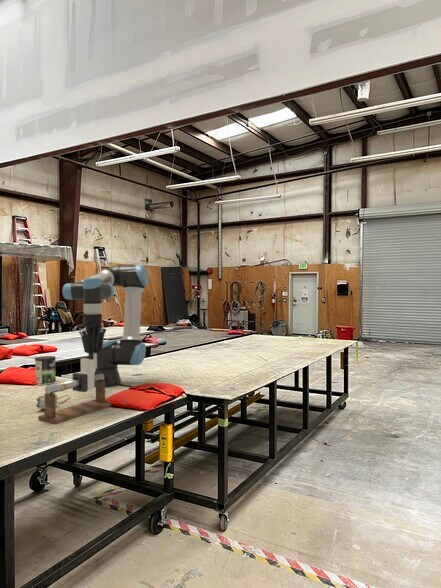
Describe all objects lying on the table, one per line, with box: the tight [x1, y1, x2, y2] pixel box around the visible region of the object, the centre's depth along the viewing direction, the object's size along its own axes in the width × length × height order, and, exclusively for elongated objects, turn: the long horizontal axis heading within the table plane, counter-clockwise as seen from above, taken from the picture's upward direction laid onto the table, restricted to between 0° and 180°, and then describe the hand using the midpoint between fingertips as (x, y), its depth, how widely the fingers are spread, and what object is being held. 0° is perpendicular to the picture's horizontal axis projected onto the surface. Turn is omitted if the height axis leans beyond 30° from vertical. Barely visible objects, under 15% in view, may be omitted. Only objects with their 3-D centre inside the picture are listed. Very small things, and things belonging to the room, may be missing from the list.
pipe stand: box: [38, 380, 112, 425], centre depth 164 cm, size 28×10×10 cm, turn 149°
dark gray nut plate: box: [72, 372, 89, 393], centre depth 166 cm, size 2×7×7 cm, turn 59°
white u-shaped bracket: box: [79, 358, 95, 391], centre depth 168 cm, size 4×6×12 cm, turn 59°
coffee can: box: [34, 355, 57, 386], centre depth 219 cm, size 10×10×14 cm
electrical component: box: [35, 394, 72, 410], centre depth 178 cm, size 24×6×5 cm, turn 179°
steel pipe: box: [44, 374, 104, 394], centre depth 164 cm, size 27×3×3 cm, turn 149°
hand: (93, 368), depth 172 cm, fingers closed
